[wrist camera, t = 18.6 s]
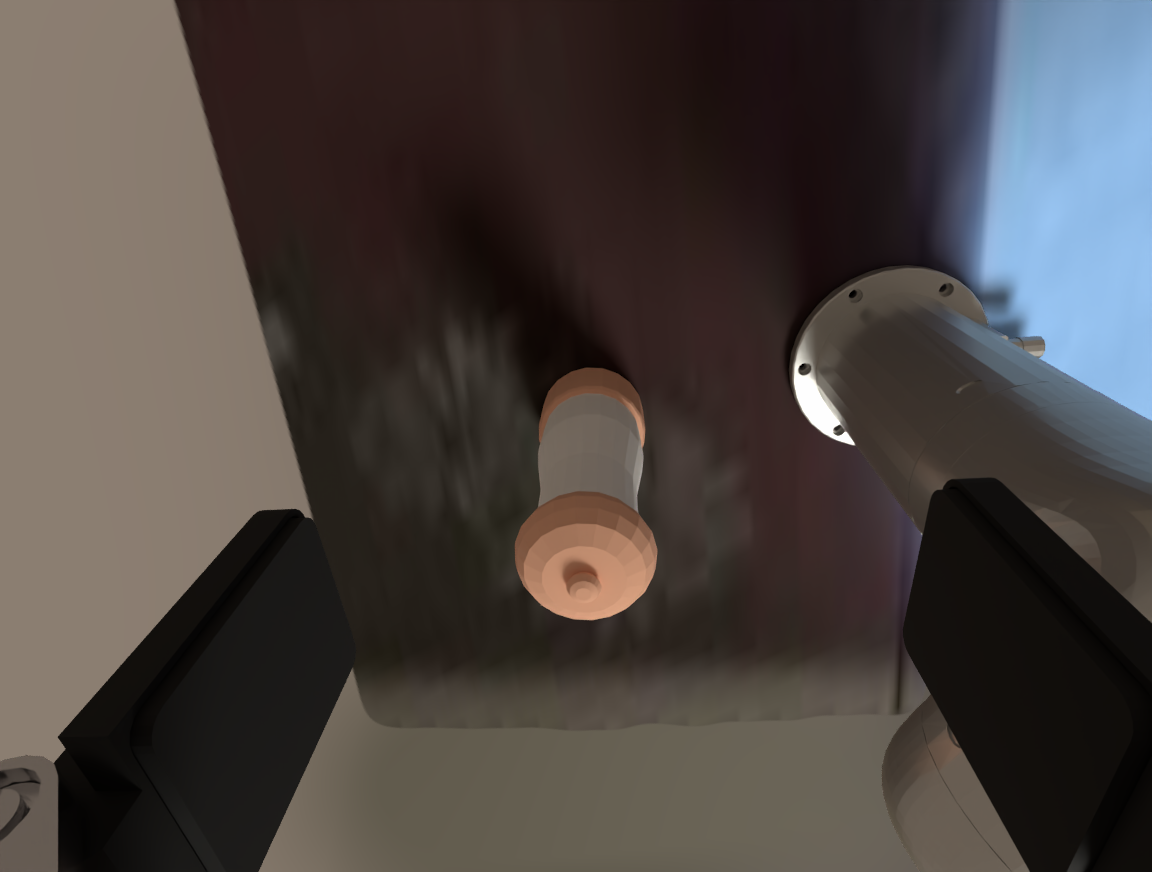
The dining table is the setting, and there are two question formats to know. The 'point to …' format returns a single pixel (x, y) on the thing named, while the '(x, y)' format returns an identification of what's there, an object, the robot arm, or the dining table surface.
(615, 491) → the salt shaker
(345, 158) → the dining table surface
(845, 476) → the dining table surface
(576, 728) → the dining table surface
